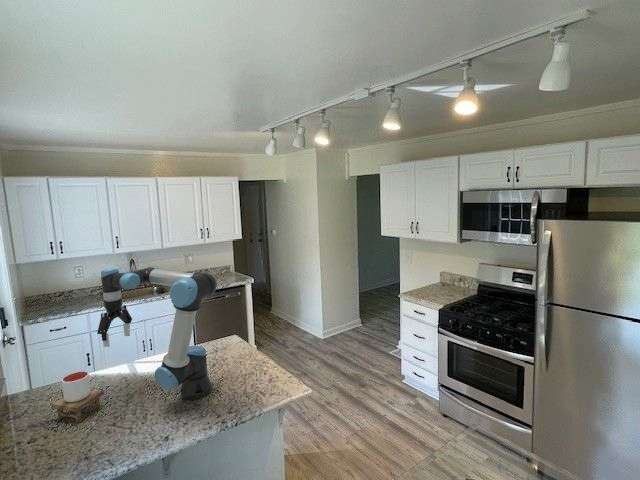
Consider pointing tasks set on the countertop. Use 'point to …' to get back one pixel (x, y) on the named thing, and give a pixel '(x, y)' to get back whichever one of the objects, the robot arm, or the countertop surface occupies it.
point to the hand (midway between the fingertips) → (117, 341)
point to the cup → (76, 386)
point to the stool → (77, 405)
